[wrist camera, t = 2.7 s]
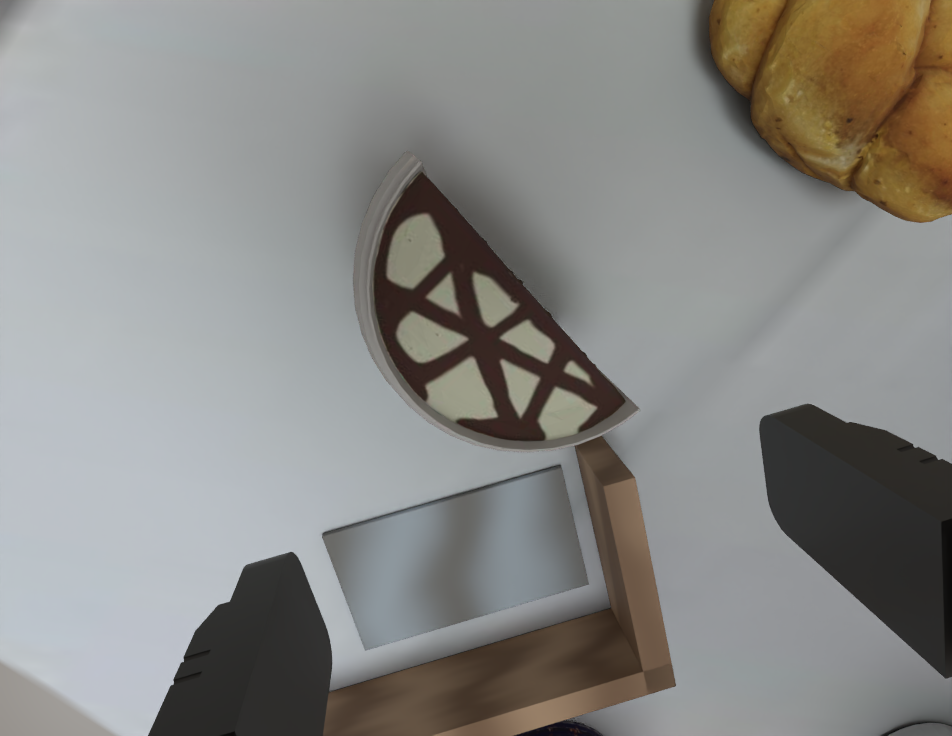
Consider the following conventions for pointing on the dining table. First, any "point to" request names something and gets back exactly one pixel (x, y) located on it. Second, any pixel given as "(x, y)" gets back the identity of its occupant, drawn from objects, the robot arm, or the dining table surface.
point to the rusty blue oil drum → (562, 730)
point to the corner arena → (502, 606)
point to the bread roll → (849, 92)
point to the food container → (469, 329)
